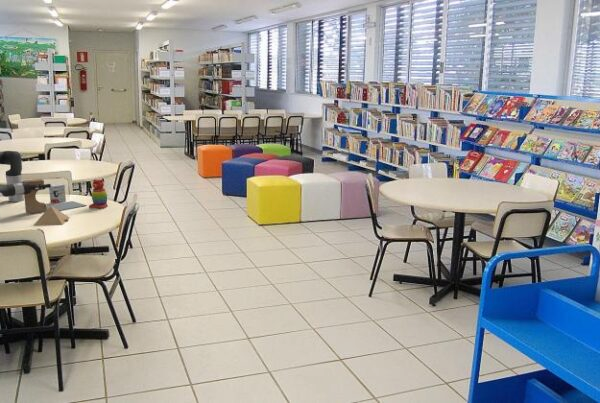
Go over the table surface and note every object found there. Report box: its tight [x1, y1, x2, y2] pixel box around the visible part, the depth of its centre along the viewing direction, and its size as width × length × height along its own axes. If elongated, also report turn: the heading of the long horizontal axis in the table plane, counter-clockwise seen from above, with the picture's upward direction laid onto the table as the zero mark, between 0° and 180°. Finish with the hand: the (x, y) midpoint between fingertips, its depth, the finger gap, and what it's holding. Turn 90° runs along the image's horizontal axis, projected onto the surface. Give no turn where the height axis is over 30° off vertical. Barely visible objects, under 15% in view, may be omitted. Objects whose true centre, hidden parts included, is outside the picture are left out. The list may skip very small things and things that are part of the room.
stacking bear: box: [88, 178, 108, 210], centre depth 359 cm, size 11×10×18 cm
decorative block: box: [22, 178, 47, 215], centre depth 345 cm, size 11×6×20 cm, turn 125°
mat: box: [46, 200, 87, 212], centre depth 360 cm, size 17×22×1 cm
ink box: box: [48, 183, 67, 205], centre depth 371 cm, size 9×5×12 cm, turn 136°
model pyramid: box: [32, 206, 71, 227], centre depth 325 cm, size 17×17×10 cm
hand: (47, 184), depth 349 cm, fingers open, 8 cm apart
